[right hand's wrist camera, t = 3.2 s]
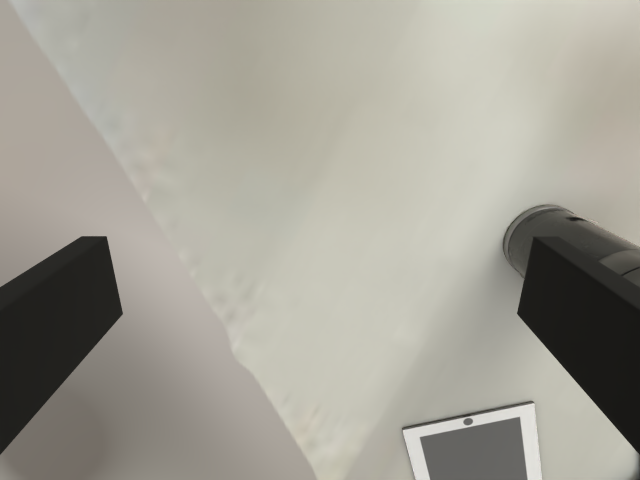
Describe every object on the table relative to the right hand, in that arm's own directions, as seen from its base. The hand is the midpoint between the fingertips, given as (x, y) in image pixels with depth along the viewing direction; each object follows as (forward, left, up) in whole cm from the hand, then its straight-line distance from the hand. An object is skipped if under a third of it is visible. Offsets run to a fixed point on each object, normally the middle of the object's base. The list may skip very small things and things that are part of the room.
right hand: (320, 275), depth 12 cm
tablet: (+57, +27, -36) cm, 72 cm away
